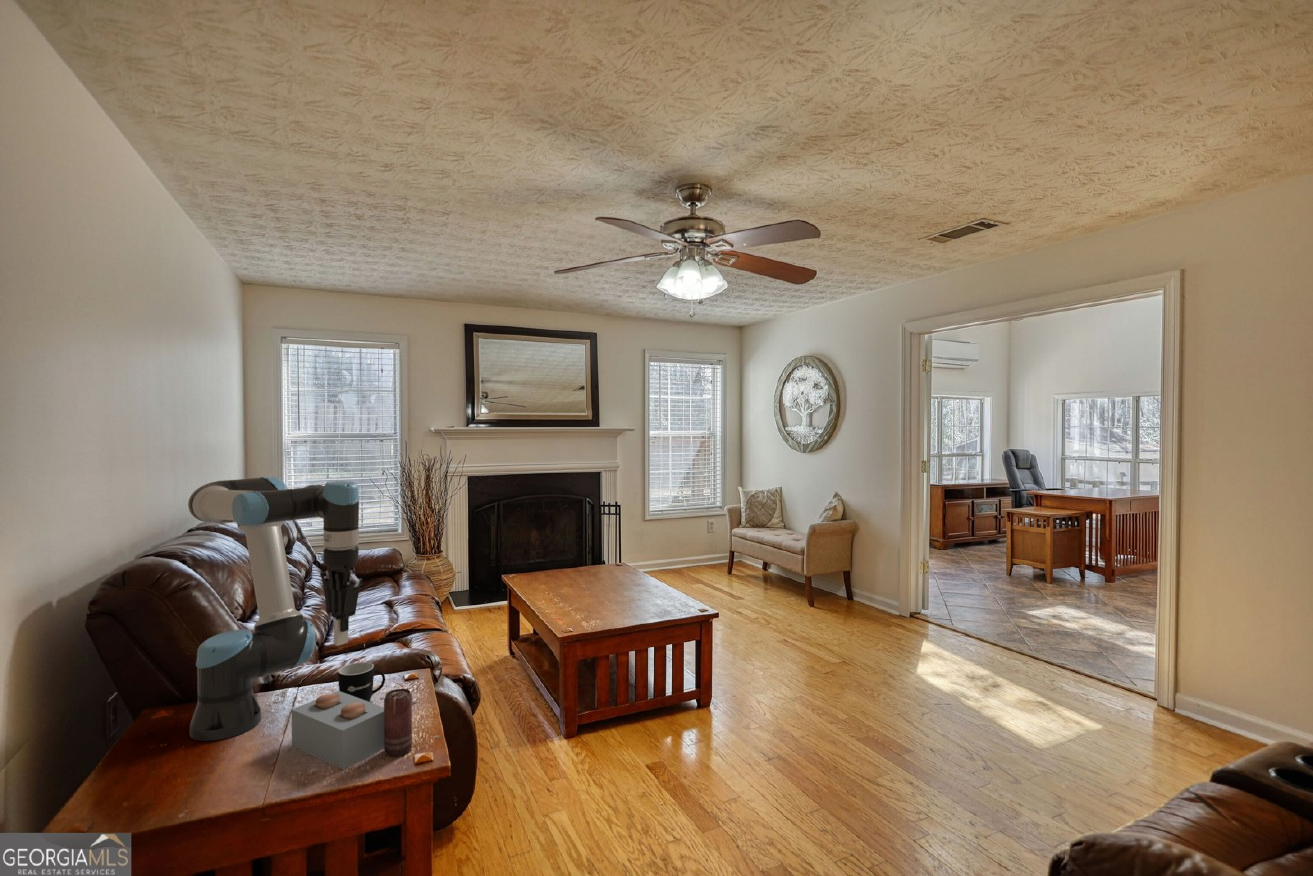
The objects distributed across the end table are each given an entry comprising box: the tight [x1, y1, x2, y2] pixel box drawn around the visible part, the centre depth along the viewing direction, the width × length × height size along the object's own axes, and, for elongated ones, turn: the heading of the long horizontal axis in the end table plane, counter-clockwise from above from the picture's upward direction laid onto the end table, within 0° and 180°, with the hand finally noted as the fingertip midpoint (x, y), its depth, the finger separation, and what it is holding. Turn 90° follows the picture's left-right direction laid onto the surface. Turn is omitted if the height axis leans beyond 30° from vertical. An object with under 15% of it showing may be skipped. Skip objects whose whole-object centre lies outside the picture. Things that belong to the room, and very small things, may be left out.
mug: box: [337, 661, 386, 702], centre depth 174 cm, size 12×9×10 cm
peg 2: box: [341, 703, 365, 721], centre depth 149 cm, size 5×5×10 cm
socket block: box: [291, 690, 384, 770], centre depth 151 cm, size 20×12×9 cm, turn 60°
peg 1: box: [315, 693, 340, 710], centre depth 153 cm, size 5×5×10 cm
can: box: [383, 688, 413, 758], centre depth 149 cm, size 6×6×14 cm
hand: (340, 643), depth 150 cm, fingers closed
